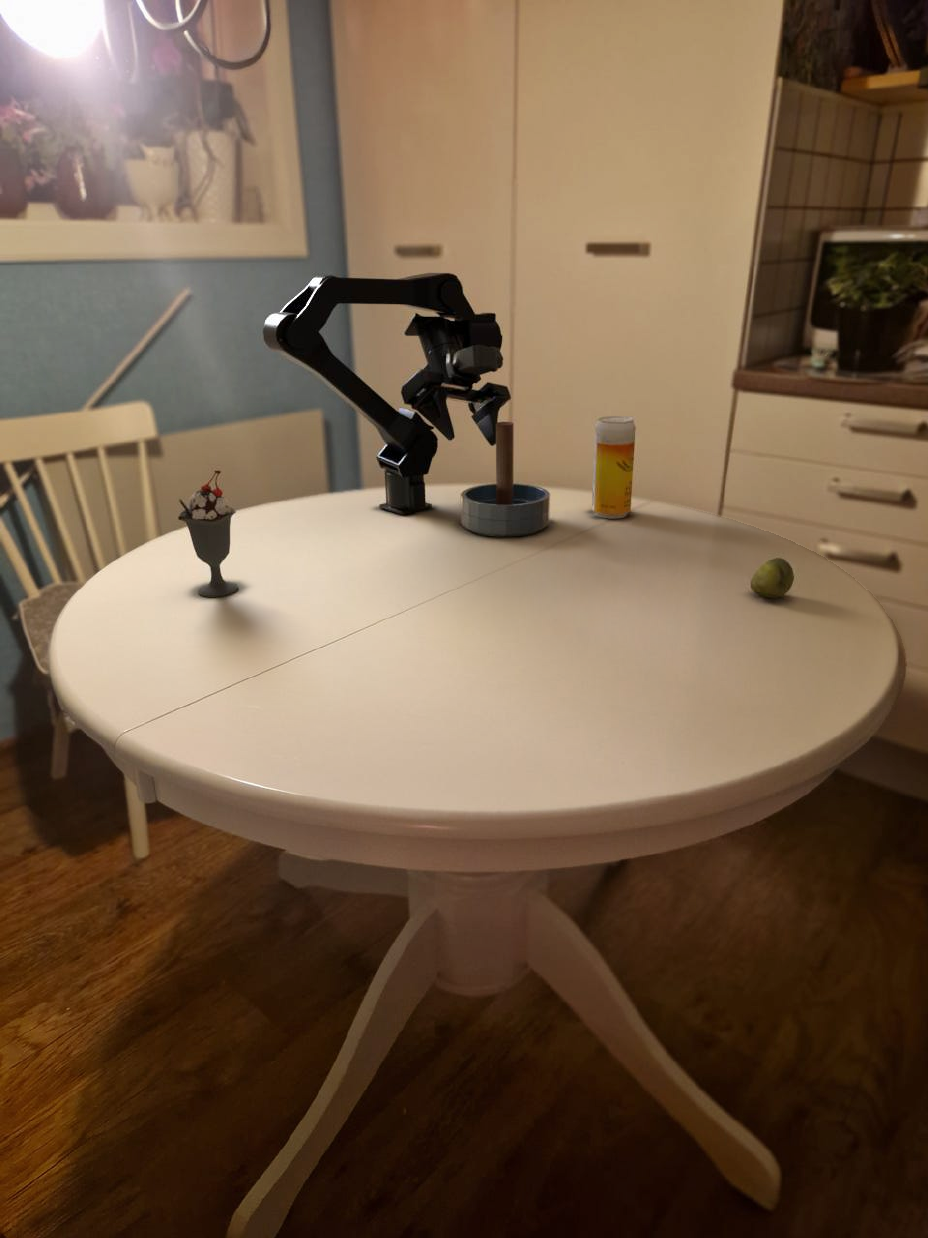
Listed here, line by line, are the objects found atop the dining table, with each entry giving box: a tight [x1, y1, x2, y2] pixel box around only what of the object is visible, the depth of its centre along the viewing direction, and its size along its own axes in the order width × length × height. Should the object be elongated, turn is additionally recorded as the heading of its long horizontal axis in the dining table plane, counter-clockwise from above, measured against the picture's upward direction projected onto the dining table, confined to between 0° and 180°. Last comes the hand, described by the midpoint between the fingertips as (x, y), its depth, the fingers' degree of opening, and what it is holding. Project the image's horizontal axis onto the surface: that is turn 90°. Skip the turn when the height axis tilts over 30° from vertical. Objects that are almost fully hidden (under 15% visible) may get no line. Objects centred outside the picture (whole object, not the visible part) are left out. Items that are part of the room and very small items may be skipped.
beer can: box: [591, 415, 637, 519], centre depth 135 cm, size 6×6×15 cm
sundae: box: [177, 470, 239, 598], centre depth 106 cm, size 7×7×15 cm
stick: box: [495, 421, 515, 505], centre depth 130 cm, size 4×4×15 cm
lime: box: [750, 557, 795, 599], centre depth 102 cm, size 4×5×5 cm
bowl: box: [460, 482, 551, 538], centre depth 132 cm, size 13×13×5 cm
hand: (473, 441), depth 132 cm, fingers open, 9 cm apart
